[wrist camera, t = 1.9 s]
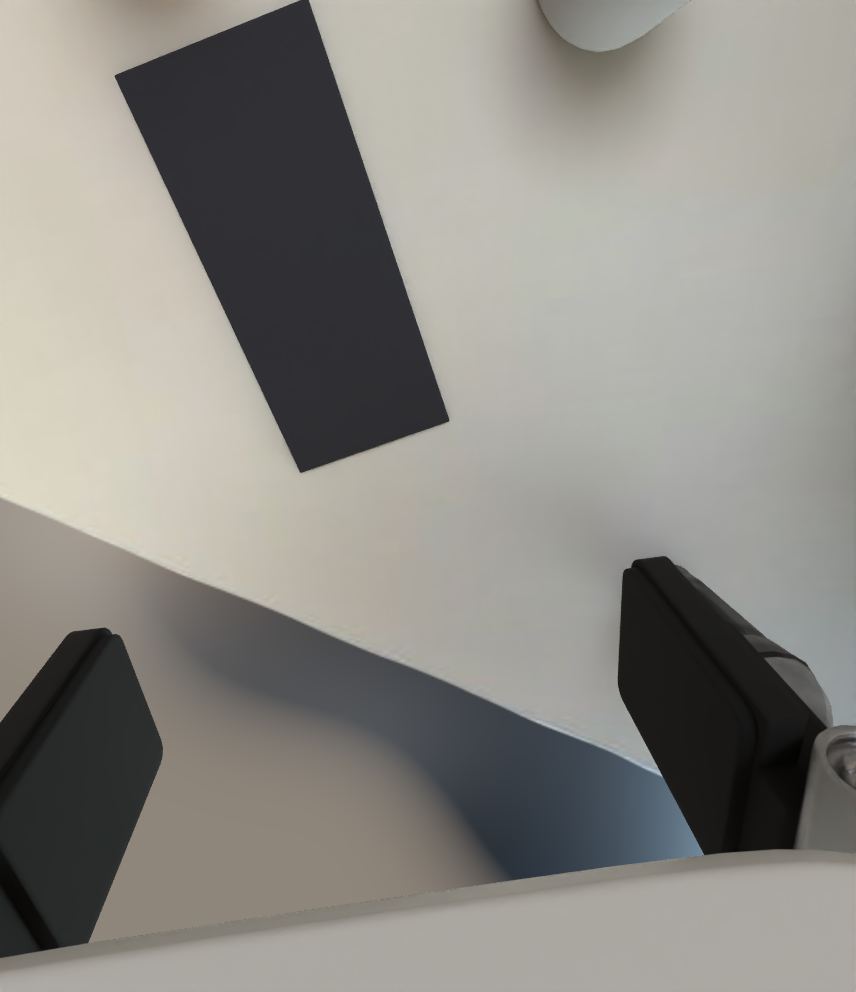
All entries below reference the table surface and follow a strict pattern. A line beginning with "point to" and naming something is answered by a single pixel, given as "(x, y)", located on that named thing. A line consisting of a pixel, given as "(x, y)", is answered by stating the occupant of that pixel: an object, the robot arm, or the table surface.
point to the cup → (606, 20)
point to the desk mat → (289, 232)
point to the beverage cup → (772, 655)
